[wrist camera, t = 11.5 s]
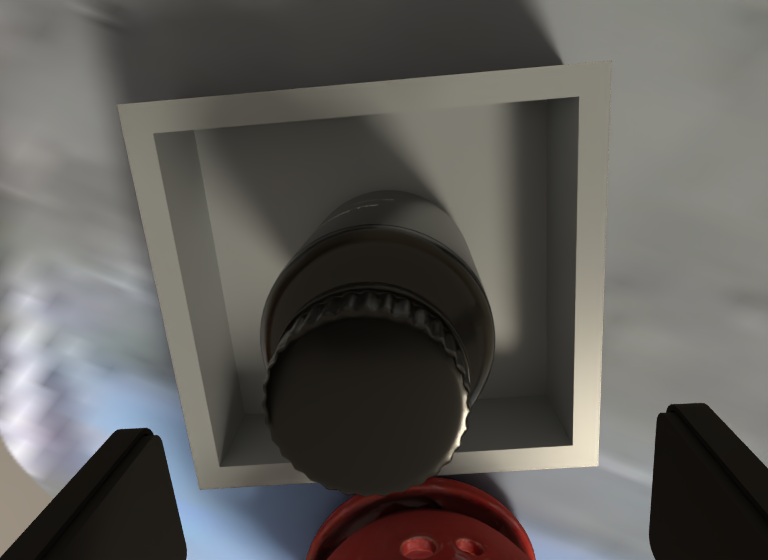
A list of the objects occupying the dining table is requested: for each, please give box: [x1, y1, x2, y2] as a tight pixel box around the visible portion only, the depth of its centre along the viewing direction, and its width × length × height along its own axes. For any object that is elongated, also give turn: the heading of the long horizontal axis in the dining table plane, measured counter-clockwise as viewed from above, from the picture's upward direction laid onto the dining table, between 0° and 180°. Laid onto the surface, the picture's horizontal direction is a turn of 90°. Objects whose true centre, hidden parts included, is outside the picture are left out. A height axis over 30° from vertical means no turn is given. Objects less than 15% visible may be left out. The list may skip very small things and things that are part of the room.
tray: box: [117, 60, 612, 490], centre depth 23 cm, size 16×15×5 cm
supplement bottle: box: [260, 190, 495, 497], centre depth 18 cm, size 7×7×12 cm
